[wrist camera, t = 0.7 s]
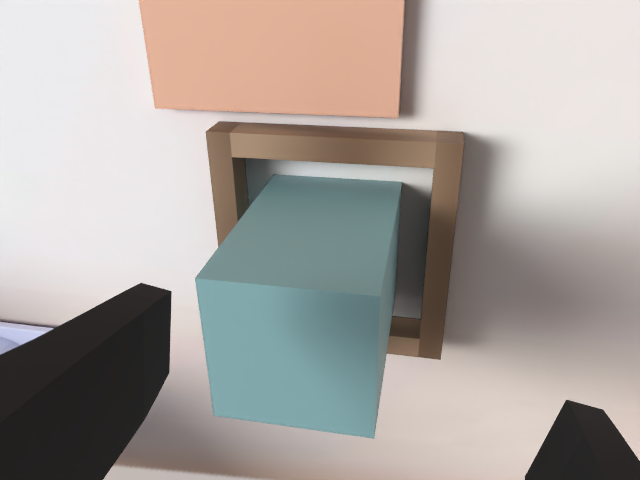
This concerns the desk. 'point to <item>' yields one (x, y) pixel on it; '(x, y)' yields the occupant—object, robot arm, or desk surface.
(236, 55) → the terracotta tile
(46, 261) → the desk surface
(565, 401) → the robot arm
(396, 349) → the pocket frame
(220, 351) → the teal block
